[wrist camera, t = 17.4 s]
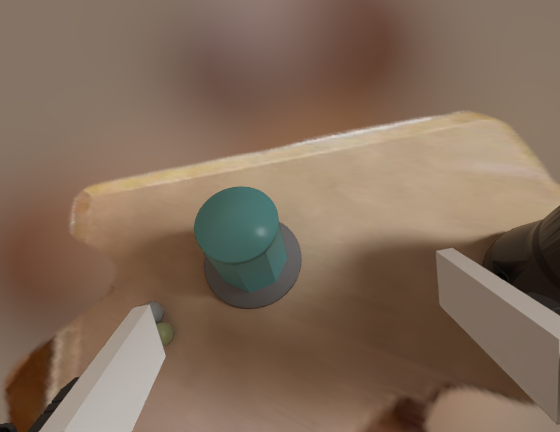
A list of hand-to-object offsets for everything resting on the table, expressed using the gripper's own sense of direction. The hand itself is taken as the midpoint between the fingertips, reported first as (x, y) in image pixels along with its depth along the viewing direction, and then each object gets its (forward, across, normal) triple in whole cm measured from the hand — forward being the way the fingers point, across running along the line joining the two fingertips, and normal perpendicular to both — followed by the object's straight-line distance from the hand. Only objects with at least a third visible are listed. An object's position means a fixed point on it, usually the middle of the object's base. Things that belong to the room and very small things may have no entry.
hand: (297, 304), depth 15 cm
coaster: (+32, -5, -10) cm, 34 cm away
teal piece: (+32, -5, -9) cm, 34 cm away
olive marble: (+26, -18, -16) cm, 36 cm away
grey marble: (+28, -20, -14) cm, 37 cm away
